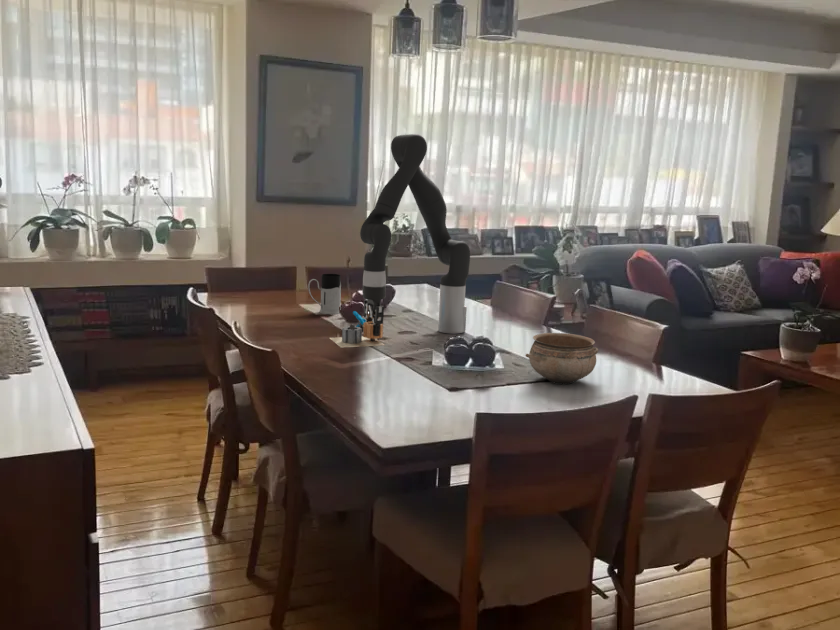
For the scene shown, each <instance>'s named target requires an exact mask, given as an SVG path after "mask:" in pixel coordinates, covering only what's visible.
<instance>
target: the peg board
mask: <svg viewBox="0 0 840 630" xmlns="http://www.w3.org/2000/svg"><path fill="white" fill-rule="evenodd" d="M372 324H373V323H372ZM349 327H350V329H353V330H354V329H355V327H356V325H355V324H354V323H350V324H349ZM329 339H330V340H331V341H332V342H333V343H335V344H336V345H337V346H338V347H339V348H342V349H343V348H356V347H357V348H358V347H360V348H362V347H378V346H379V347H380V346H385V344H384V343H383V342H382V341H380V340H378V339H374V338H371V339H369V338H366V337H363V335H362V342H360V343H358V344H356V343H355V344H349V343H343V342H342V336H340V337H339V336H338V337H329Z"/></svg>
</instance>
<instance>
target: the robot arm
mask: <svg viewBox="0 0 840 630" xmlns="http://www.w3.org/2000/svg"><path fill="white" fill-rule="evenodd" d="M427 151H428V143H427V141H426V139H425V138H424V136H422V135H420V134H416V133H412V134H411V133H410V134H409V133H408V134H401V135H396V136H395V137H393V139H392V140H391V143H390V152H391V156H392V158H393V160H394V161H395V164H396V165H397V167H398V169H397V170H396V172H395V174H393V176H392V177H391V178H390V179H389V180H388V181H387V183H386V184H385V185H384V187H383V188H382V190H381V191H380V193H379V196H378V198H377V201H376V203H375V205H374V208H373V209H372V211H371V212H370V213H369V214H368V216H367V218H366V219H364V221H363V223H362V224H361V227H360V232H359V233H360V234H359V236H360V239H361V241H362V242H363V243H364V244H367V245H373V247H372V251H368V252H366V253H365V254H364V259H363V276H362V298H363V318H364V319H365V320H366V322H369V321H372V322H373V336H379V335H380V325H381V324H383V325H384V316H385V315H384V313H385V306H384V305H382V304H381V300H384V299H386V287H387V286H386V284H387V282H386V281H387V276H386V259H387V256H388V252H389V248H390V245H391V241H392V231H391V229H390V227H389V226H388V225H387V224H385V223H386V222H388V221H391V220H393V219H394V217H395V215H396V213H397V210H398V208H399V206H400V203H401V200H402V199H403V196H404V194H405V192H406V190H407V188H408V187H409V189H410V192H411V194H412V196H413V198H414V201H415V204H416V205H417V208H418V210H419V213H420V215H421V216H422V219H423V221H424V223H425V226H426V228H427V229H428V233H429V235H430V238H431V241H432V244H433V247H434V250H435V253H436V257H437V258H438V260H439V261H440V262H441V263H442V264H443V265H446V266H449V268H448V272H447V273H446V274H444V275H442V276H441V277H440V282H439V283H440V284H439V304H438V321H437V322H438V323H437V325H438V326H437V332H440V333H444V334H462V333H466V326H467V325H466V324H467V309H468V307H467V306H466V305H465V303H466V285H467V284H466V283H467V279H468V276H469V272H470V265H471V264H470V263H471V262H470V261H471V251H470V249H471V248H470V247H469V245H468V243H466V242H465V241H461V240H455V239H453V238H452V237H451V235H450V233H449V231H448V228H447V225H446V222H447V221H446V219H447V212H448V211H447V204H446V202H445V199H444V197H443V194H442V192H441V190H440V188H439V186H437V184H435V182H434V181H433V180H432V179H431V178H430V177H428V176H427V174H425V173H424V171H423V170H422V169H421V167H420V166H421V164H422V162H423V161H424V159H425V157H426V155H427Z"/></svg>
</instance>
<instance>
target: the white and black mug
mask: <svg viewBox="0 0 840 630" xmlns="http://www.w3.org/2000/svg"><path fill="white" fill-rule="evenodd" d="M313 281H315V282H317V283H316V284H317V288H318V290H320V302H319V301H317V300H316V299H315V298H314V297H313V295H312V293H311V286H310V285H311V282H313ZM341 287H342V283H341V274H339V273H322V274H321V286H320V282H319V281H318V280H317V279H315V278H312V279H310V280H309V282H308V287H307V290H308V293H309V295H310V297H311V298H312V300H314V301H315V303H317V304H318V305H319V306H320V309H319V313H320V314H323V315H339V314H340V313H339V306H340V307H341V301H342V300H341V298H342V297H341V293H342V290H341Z"/></svg>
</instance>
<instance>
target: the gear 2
mask: <svg viewBox="0 0 840 630" xmlns="http://www.w3.org/2000/svg"><path fill="white" fill-rule="evenodd" d="M372 323H373V322H372V321H369V322H364V323H363V325H362V326H363V327H362V336H363V337H366V338H369V339H371V338H374V339H377V340H378V339H382V338H383V334H384V333H383V331H384V323H383V324H381V325H380V335H379V336H373V324H372Z"/></svg>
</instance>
